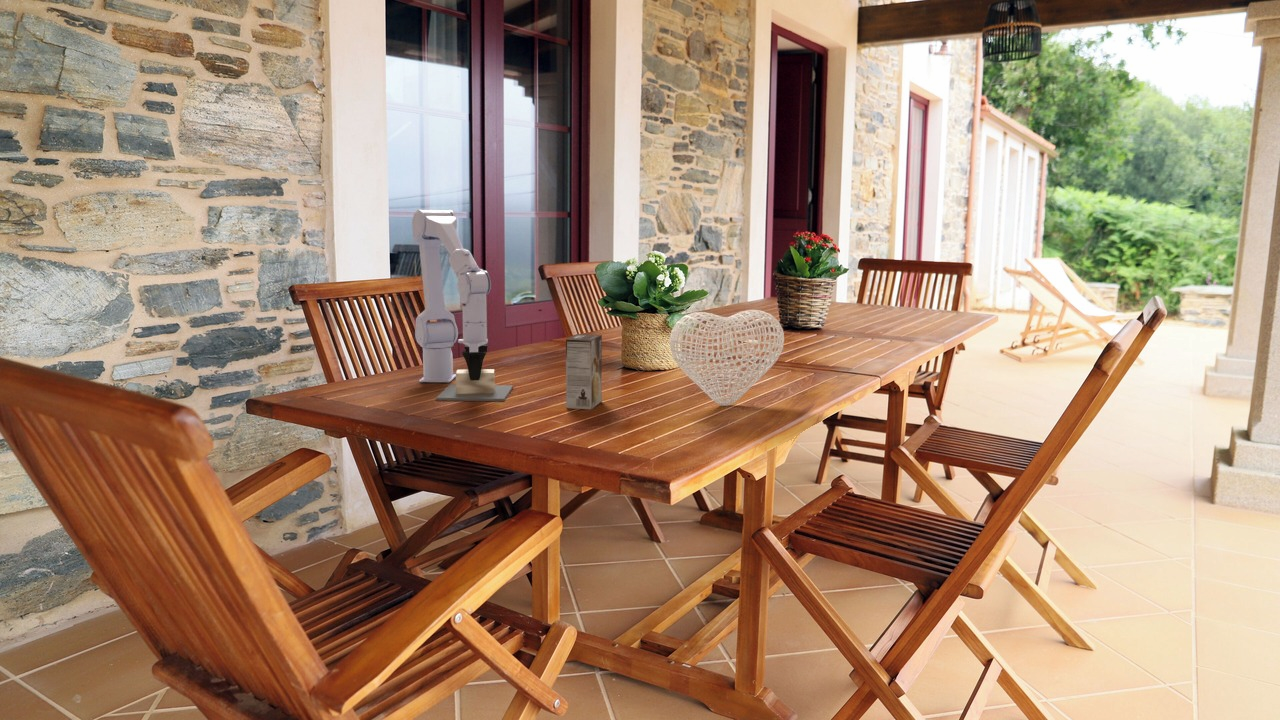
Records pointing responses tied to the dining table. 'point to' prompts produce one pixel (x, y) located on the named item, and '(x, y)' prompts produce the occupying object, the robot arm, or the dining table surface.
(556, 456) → the dining table surface
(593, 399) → the coffee box
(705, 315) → the heart
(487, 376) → the pale wooden block
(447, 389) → the rubber mat
